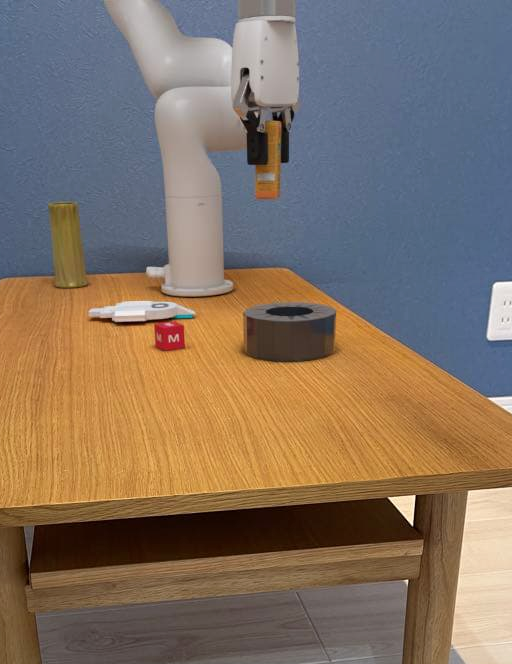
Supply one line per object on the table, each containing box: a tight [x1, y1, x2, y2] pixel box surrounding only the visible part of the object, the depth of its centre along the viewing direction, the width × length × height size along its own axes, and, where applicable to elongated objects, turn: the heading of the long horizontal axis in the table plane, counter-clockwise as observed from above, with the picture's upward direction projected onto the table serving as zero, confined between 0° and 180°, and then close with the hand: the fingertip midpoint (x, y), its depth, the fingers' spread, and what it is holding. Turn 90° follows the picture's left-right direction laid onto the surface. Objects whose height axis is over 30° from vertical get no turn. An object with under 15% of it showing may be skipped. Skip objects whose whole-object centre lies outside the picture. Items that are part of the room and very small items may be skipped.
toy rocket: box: [88, 300, 196, 323], centre depth 130 cm, size 16×10×2 cm, turn 88°
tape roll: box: [242, 301, 337, 363], centre depth 109 cm, size 12×12×5 cm
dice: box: [153, 320, 186, 352], centre depth 113 cm, size 3×3×3 cm
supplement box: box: [254, 120, 282, 200], centre depth 119 cm, size 3×3×10 cm
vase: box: [47, 201, 89, 289], centre depth 155 cm, size 6×6×14 cm
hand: (268, 162), depth 119 cm, fingers closed on supplement box, 4 cm apart
